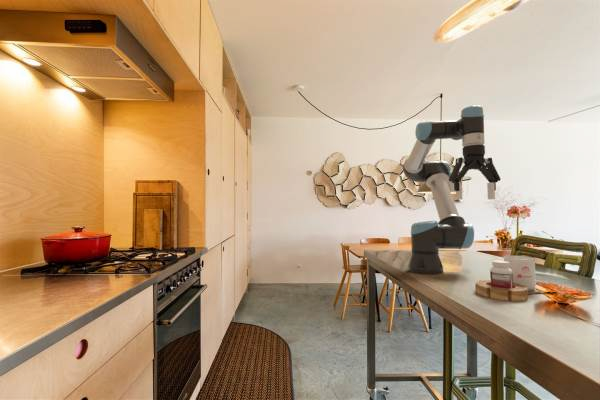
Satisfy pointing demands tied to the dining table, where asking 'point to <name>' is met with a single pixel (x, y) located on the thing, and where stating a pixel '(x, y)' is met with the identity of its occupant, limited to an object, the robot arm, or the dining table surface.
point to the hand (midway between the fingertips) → (475, 199)
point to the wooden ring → (501, 291)
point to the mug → (522, 270)
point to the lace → (534, 292)
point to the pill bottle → (501, 275)
